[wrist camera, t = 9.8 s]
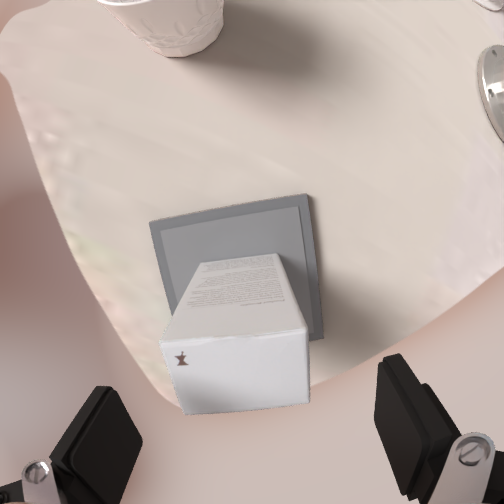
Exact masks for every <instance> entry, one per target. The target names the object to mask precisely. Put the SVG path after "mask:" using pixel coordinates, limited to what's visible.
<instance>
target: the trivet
mask: <svg viewBox="0 0 504 504" xmlns="http://www.w3.org/2000/svg"><path fill="white" fill-rule="evenodd" d="M149 226H150V230H151V235H152V239H153V244H154V248H155V252H156V257H157V261H158V265H159V269H160V273H161V277H162V281H163V284H164V288H165V292H166V296H167V299H168V303H169V307H170V310H171V314H172V316H173V314H174V312H175V310H176V308H177V306H178V304H179V302H180V300H181V298H182V296H183V295H184V293H185V291H186V289H187V287H188V285H189V283H190V281H191V280H192V278H193V276H194V274H195V272H196V270H197V268H198V266H199V265H200V263H203V262H211V261H219V260H227V259H235V258H242V257H250V256H258V255H266V254H274V253H277V254H278V255H279V257H280V259H281V262H282V264H283V267H284V269H285V272H286V275H287V277H288V280H289V282H290V285H291V288H292V290H293V293H294V295H295V298H296V300H297V303H298V305H299V308H300V311H301V313H302V315H303V318H304V320H305V322H306V324H307V327H308V335H309V341H313V340H318V339H323V338H324V336H323V324H322V313H321V302H320V292H319V283H318V274H317V265H316V257H315V249H314V241H313V233H312V226H311V219H310V212H309V205H308V198H307V194H306V193H303V194H297V195H290V196H284V197H278V198H271V199H265V200H259V201H253V202H248V203H242V204H236V205H231V206H225V207H220V208H214V209H209V210H204V211H198V212H193V213H188V214H183V215H178V216H173V217H168V218H163V219H159V220H154V221H151V222H149Z"/></svg>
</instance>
